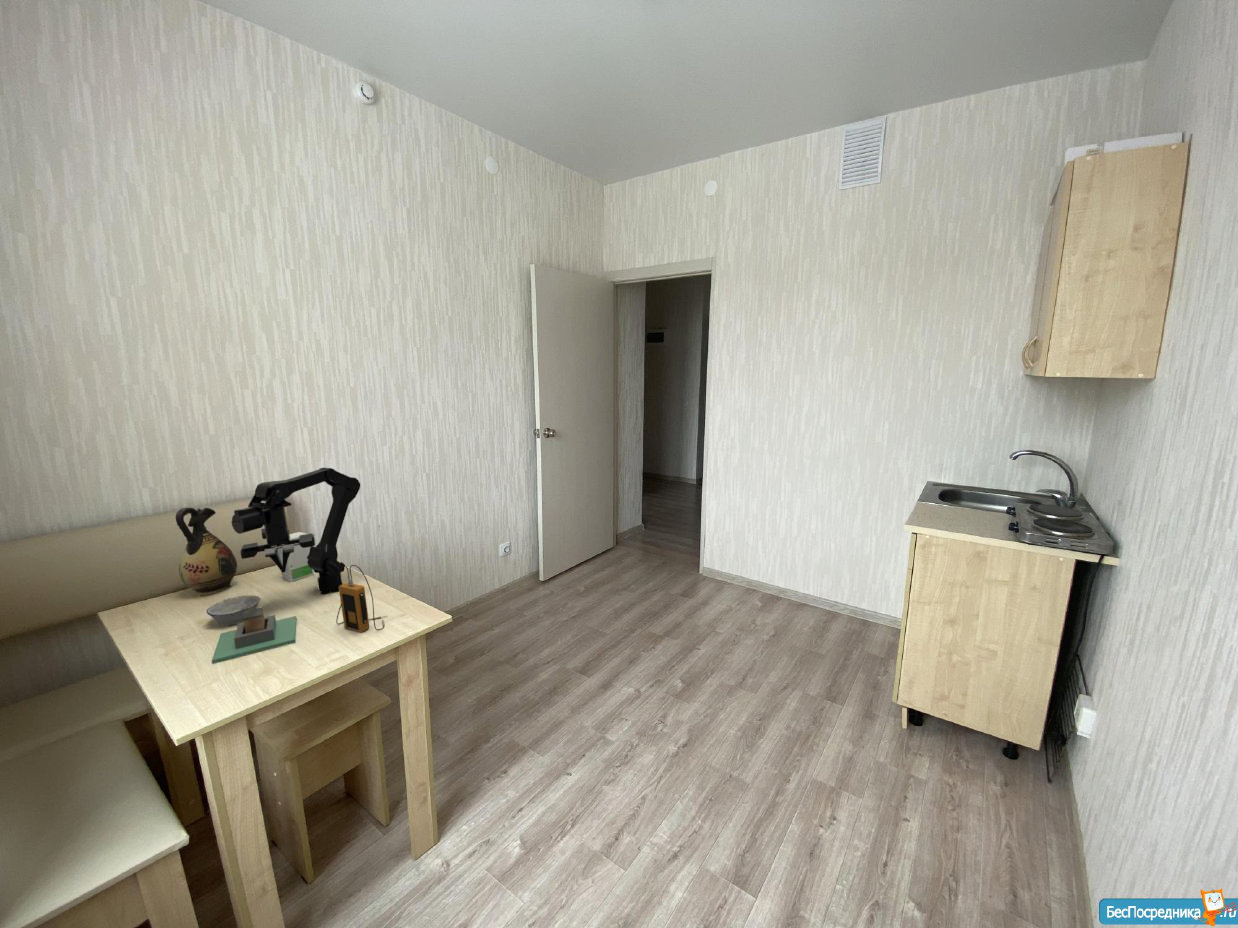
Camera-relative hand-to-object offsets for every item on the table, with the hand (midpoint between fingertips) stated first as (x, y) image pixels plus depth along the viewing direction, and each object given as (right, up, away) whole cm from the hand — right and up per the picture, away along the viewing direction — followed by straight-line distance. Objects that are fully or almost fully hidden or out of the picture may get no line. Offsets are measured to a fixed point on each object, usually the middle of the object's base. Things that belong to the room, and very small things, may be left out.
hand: (283, 571), depth 158 cm
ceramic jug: (-36, -10, +17) cm, 42 cm away
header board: (+4, -15, -16) cm, 23 cm away
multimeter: (+30, -13, -9) cm, 34 cm away
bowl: (-12, -14, -3) cm, 18 cm away
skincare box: (-12, -8, +27) cm, 31 cm away
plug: (+4, -14, -17) cm, 22 cm away
